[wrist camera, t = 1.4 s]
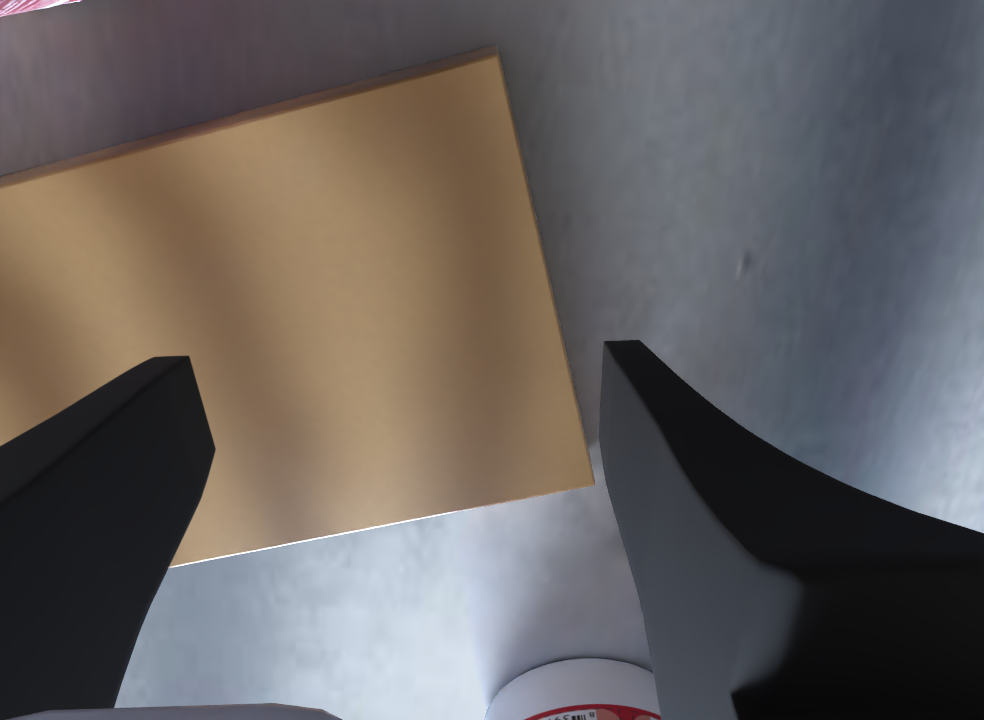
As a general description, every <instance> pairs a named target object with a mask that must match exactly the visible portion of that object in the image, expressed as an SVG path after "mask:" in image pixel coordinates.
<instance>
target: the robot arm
mask: <svg viewBox="0 0 984 720" xmlns="http://www.w3.org/2000/svg"><path fill="white" fill-rule="evenodd" d="M599 442H600V449H601V455H602V462H603V469H604V475H605V481H606V486H607V489H608V493H609V497H610V500H611V503H612V507H613V510H614V514H615V517H616V521H617V524H618V527H619V531H620V534H621V538H622V541H623V544H624V548H625V551H626V554H627V558H628V561H629V565H630V568H631V571H632V575H633V578H634V581H635V585H636V588H637V592H638V596H639V600H640V604H641V608H642V613H643V618H644V624H645V629H646V635H647V640H648V646H649V651H650V657H651V662H652V668H653V674H654V680H655V686H656V692H657V698H658V704H659V710H660V716H661V720H984V533H981V532H978V531H975V530H972V529H968V528H965V527H962V526H959V525H956V524H952V523H949V522H946V521H943V520H940V519H937V518H933V517H930V516H927V515H924V514H921V513H918V512H915V511H912V510H909V509H906V508H904V507H901V506H899V505H896V504H894V503H891V502H888V501H886V500H883V499H881V498H878V497H876V496H873V495H870V494H868V493H866V492H863V491H861V490H859V489H856V488H854V487H852V486H849V485H847V484H845V483H843V482H840V481H838V480H836V479H834V478H832V477H830V476H828V475H826V474H824V473H822V472H820V471H818V470H816V469H814V468H812V467H810V466H808V465H806V464H804V463H802V462H800V461H798V460H797V459H795V458H793V457H791V456H789V455H787V454H786V453H784V452H782V451H781V450H779V449H777V448H776V447H774V446H772V445H771V444H769V443H767V442H766V441H764V440H763V439H761V438H759V437H758V436H756V435H754V434H753V433H751V432H750V431H748V430H747V429H745V428H744V427H742V426H741V425H740V424H738V423H737V422H736V421H734V420H733V419H731V418H730V417H729V416H727V415H726V414H725V413H723V412H722V411H721V410H719V409H718V408H716V407H715V406H714V405H713V404H711V403H710V402H709V401H708V400H706V399H705V398H704V397H703V396H701V395H700V394H699V393H698V392H697V391H695V390H694V389H693V388H692V387H691V386H690V385H688V384H687V383H686V382H685V381H684V380H683V379H681V378H680V377H679V376H678V375H677V374H676V373H675V372H674V371H673V370H671V369H670V368H669V367H668V366H667V365H666V364H665V363H664V362H663V361H662V360H661V359H659V358H658V357H657V356H656V355H655V354H654V353H653V352H652V351H651V350H650V349H649V348H648V347H647V346H645V345H644V344H643V343H642V342H641V341H640V340H622V341H604V346H603V365H602V384H601V403H600V422H599ZM215 451H216V448H215V444H214V441H213V437H212V434H211V430H210V427H209V423H208V420H207V416H206V413H205V409H204V406H203V402H202V399H201V395H200V392H199V388H198V385H197V381H196V378H195V374H194V371H193V367H192V364H191V360H190V357H189V355H188V356H159V357H153V358H150V359H148V360H146V361H144V362H142V363H140V364H138V365H136V366H135V367H133V368H131V369H129V370H128V371H126V372H124V373H123V374H121V375H119V376H118V377H116V378H114V379H113V380H111V381H109V382H108V383H106V384H104V385H103V386H101V387H100V388H98V389H96V390H95V391H93V392H91V393H90V394H88V395H87V396H85V397H83V398H82V399H80V400H78V401H77V402H75V403H74V404H72V405H70V406H69V407H67V408H65V409H64V410H62V411H61V412H59V413H57V414H56V415H54V416H52V417H50V418H49V419H47V420H45V421H43V422H42V423H40V424H38V425H36V426H35V427H33V428H31V429H29V430H28V431H26V432H24V433H22V434H21V435H19V436H17V437H15V438H14V439H12V440H10V441H8V442H7V443H5V444H3V445H1V446H0V720H342V719H340V718H338V717H336V716H334V715H332V714H330V713H328V712H326V711H324V710H322V709H315V708H307V707H300V706H292V705H284V704H276V703H265V704H233V705H202V706H170V707H139V708H114V706H115V703H116V699H117V696H118V693H119V690H120V687H121V683H122V680H123V678H124V675H125V672H126V669H127V666H128V663H129V660H130V657H131V655H132V652H133V649H134V646H135V643H136V640H137V637H138V634H139V632H140V629H141V626H142V624H143V622H144V619H145V617H146V615H147V612H148V610H149V608H150V605H151V603H152V601H153V599H154V597H155V595H156V593H157V591H158V589H159V587H160V584H161V582H162V580H163V578H164V576H165V574H166V572H167V570H168V568H169V566H170V564H171V562H172V560H173V558H174V555H175V553H176V551H177V549H178V547H179V545H180V543H181V541H182V539H183V537H184V535H185V533H186V530H187V528H188V526H189V524H190V522H191V520H192V518H193V516H194V513H195V511H196V509H197V507H198V505H199V502H200V500H201V498H202V495H203V492H204V489H205V486H206V482H207V479H208V476H209V473H210V469H211V465H212V462H213V458H214V455H215Z"/></svg>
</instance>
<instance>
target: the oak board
mask: <svg viewBox="0 0 984 720" xmlns="http://www.w3.org/2000/svg"><path fill="white" fill-rule="evenodd" d="M188 355H189V357H190V360H191V364H192V367H193V371H194V374H195V378H196V381H197V385H198V388H199V392H200V395H201V399H202V402H203V406H204V409H205V413H206V416H207V420H208V423H209V427H210V430H211V434H212V437H213V441H214V444H215V448H216V451H215V455H214V458H213V462H212V465H211V469H210V473H209V476H208V479H207V482H206V486H205V489H204V492H203V495H202V498H201V500H200V502H199V505H198V507H197V509H196V511H195V513H194V516H193V518H192V520H191V522H190V524H189V526H188V528H187V530H186V533H185V535H184V537H183V539H182V541H181V543H180V545H179V547H178V549H177V551H176V553H175V555H174V558H173V560H172V562H171V564H170V566H169V568H171V567H176V566H181V565H186V564H191V563H196V562H202V561H207V560H212V559H217V558H222V557H227V556H233V555H238V554H243V553H248V552H253V551H258V550H263V549H269V548H274V547H279V546H284V545H289V544H294V543H300V542H305V541H310V540H315V539H320V538H325V537H331V536H336V535H341V534H346V533H351V532H356V531H361V530H367V529H372V528H377V527H382V526H387V525H392V524H398V523H403V522H408V521H413V520H418V519H423V518H429V517H434V516H439V515H444V514H449V513H454V512H459V511H465V510H470V509H475V508H480V507H485V506H490V505H496V504H501V503H506V502H511V501H516V500H521V499H526V498H532V497H537V496H542V495H547V494H552V493H557V492H563V491H568V490H573V489H578V488H583V487H588V486H593V485H595V479H594V474H593V469H592V464H591V459H590V454H589V450H588V445H587V441H586V436H585V432H584V427H583V423H582V418H581V414H580V409H579V405H578V400H577V396H576V392H575V387H574V383H573V378H572V374H571V369H570V365H569V360H568V356H567V351H566V347H565V342H564V338H563V334H562V329H561V325H560V320H559V316H558V311H557V307H556V302H555V298H554V293H553V289H552V284H551V280H550V275H549V271H548V267H547V262H546V258H545V253H544V249H543V244H542V240H541V235H540V231H539V226H538V222H537V217H536V213H535V209H534V204H533V200H532V195H531V191H530V186H529V182H528V177H527V173H526V168H525V164H524V159H523V155H522V151H521V146H520V142H519V137H518V133H517V128H516V124H515V119H514V115H513V110H512V106H511V101H510V97H509V93H508V88H507V84H506V79H505V75H504V70H503V66H502V61H501V57H500V52H499V48H498V46H497V45H492V46H488V47H485V48H481V49H477V50H473V51H470V52H466V53H462V54H458V55H455V56H451V57H447V58H443V59H440V60H436V61H432V62H428V63H425V64H421V65H417V66H413V67H410V68H406V69H402V70H398V71H395V72H391V73H387V74H383V75H379V76H376V77H372V78H368V79H364V80H361V81H357V82H353V83H349V84H346V85H342V86H338V87H334V88H331V89H327V90H323V91H319V92H316V93H312V94H308V95H304V96H301V97H297V98H293V99H289V100H286V101H282V102H278V103H274V104H271V105H267V106H263V107H259V108H256V109H252V110H248V111H244V112H241V113H237V114H233V115H229V116H226V117H222V118H218V119H214V120H211V121H207V122H203V123H199V124H196V125H192V126H188V127H184V128H181V129H177V130H173V131H169V132H166V133H162V134H158V135H154V136H151V137H147V138H143V139H139V140H136V141H132V142H128V143H124V144H121V145H117V146H113V147H109V148H106V149H102V150H98V151H94V152H91V153H87V154H83V155H79V156H76V157H72V158H68V159H64V160H61V161H57V162H53V163H49V164H46V165H42V166H38V167H34V168H31V169H27V170H23V171H19V172H16V173H12V174H8V175H4V176H1V177H0V446H1V445H3V444H5V443H7V442H8V441H10V440H12V439H14V438H15V437H17V436H19V435H21V434H22V433H24V432H26V431H28V430H29V429H31V428H33V427H35V426H36V425H38V424H40V423H42V422H43V421H45V420H47V419H49V418H50V417H52V416H54V415H56V414H57V413H59V412H61V411H62V410H64V409H65V408H67V407H69V406H70V405H72V404H74V403H75V402H77V401H78V400H80V399H82V398H83V397H85V396H87V395H88V394H90V393H91V392H93V391H95V390H96V389H98V388H100V387H101V386H103V385H104V384H106V383H108V382H109V381H111V380H113V379H114V378H116V377H118V376H119V375H121V374H123V373H124V372H126V371H128V370H129V369H131V368H133V367H135V366H136V365H138V364H140V363H142V362H144V361H146V360H148V359H150V358H153V357H159V356H188Z"/></svg>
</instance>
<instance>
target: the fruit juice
mask: <svg viewBox="0 0 984 720" xmlns="http://www.w3.org/2000/svg"><path fill="white" fill-rule="evenodd" d="M484 720H661V716H660V710H659V704H658V698H657V692H656V686H655V680H654V674H653V673H651V672H649V671H648V670H645V669H643V668H641V667H638V666H635V665H632V664H629V663H625V662H621V661H615V660H609V659H595V658H584V659H572V660H564V661H559V662H555V663H551V664H547V665H544V666H541V667H538V668H535V669H533V670H530V671H528V672H526V673H524V674H522V675H520V676H519V677H517V678H515V679H514V680H512V681H511V682H509V683H508V684H507V685H506V686H504V687H503V688H502V689H501V690H500V691H499V692H498V693H497V695H496V696H495V697H494V698H493V700H492V702H491V703H490V705H489V707H488V709H487V712H486V715H485V718H484Z"/></svg>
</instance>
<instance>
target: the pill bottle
mask: <svg viewBox="0 0 984 720" xmlns="http://www.w3.org/2000/svg"><path fill="white" fill-rule="evenodd" d="M79 1H82V0H0V17H1V16H6V15H11V14H17V13H22V12H27V11H32V10H37V9H42V8H49V7H52V6H56V5H61V4H66V3H72V2H79Z"/></svg>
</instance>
